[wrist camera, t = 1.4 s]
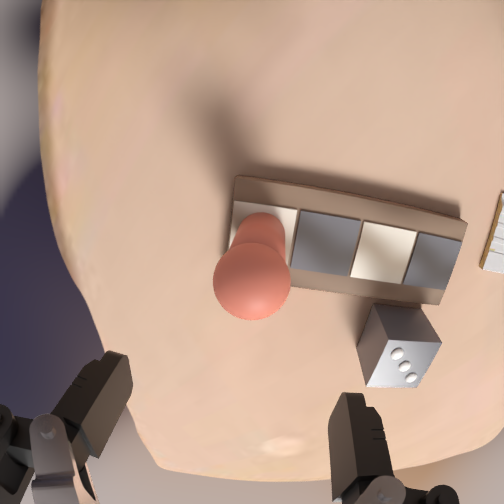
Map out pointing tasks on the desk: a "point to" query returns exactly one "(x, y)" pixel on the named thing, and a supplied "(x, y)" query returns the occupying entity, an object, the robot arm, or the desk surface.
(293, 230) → the game strip
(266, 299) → the pawn
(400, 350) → the die
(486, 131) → the desk surface
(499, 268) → the baseboard
